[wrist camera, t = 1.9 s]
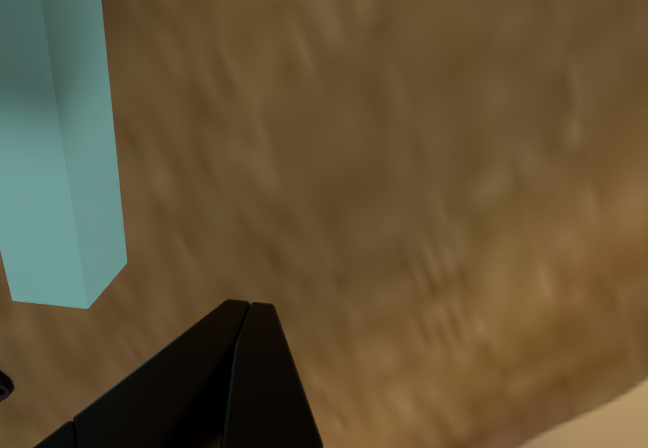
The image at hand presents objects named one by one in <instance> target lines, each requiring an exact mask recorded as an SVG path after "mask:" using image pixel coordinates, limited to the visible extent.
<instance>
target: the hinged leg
mask: <svg viewBox="0 0 648 448" xmlns="http://www.w3.org/2000/svg"><path fill="white" fill-rule="evenodd" d="M0 251H1V255H2V259H3V263H4V268H5V272H6V276H7V280H8V284H9V288H10V292H11V297H12V301H21V302H30V303H39V304H48V305H57V306H66V307H75V308H84V309H88V308H89V307H90V306H91V305H92V304H93V302H94V301H95V300H96V299H97V298H98V296H99V295H100V294H101V293H102V292H103V291H104V289H105V288H106V287H107V286H108V285H109V284H110V282H111V281H112V280H113V279H114V278H115V276H116V275H117V274H118V273H119V272H120V271H121V269H122V268H123V267H124V266H125V265H126V264H127V256H126V246H125V236H124V225H123V215H122V205H121V195H120V185H119V175H118V165H117V154H116V144H115V134H114V124H113V114H112V104H111V94H110V84H109V73H108V63H107V53H106V43H105V33H104V23H103V13H102V2H101V0H0Z"/></svg>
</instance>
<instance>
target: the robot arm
mask: <svg viewBox="0 0 648 448" xmlns="http://www.w3.org/2000/svg"><path fill="white" fill-rule="evenodd" d="M13 391H14V385H13V384H12V383H11V382H10V381H9V380H7V379H6V378H5V377H4V376H2V375H1V374H0V401H2V400H4V399H6V398H7V397H8V396H9V395H10V394H11V393H12V392H13ZM33 448H323V443H322V440H321V437H320V434H319V431H318V428H317V425H316V423H315V420H314V417H313V414H312V411H311V408H310V406H309V403H308V400H307V397H306V394H305V391H304V388H303V386H302V383H301V380H300V377H299V374H298V371H297V369H296V366H295V363H294V360H293V357H292V354H291V351H290V349H289V346H288V343H287V340H286V337H285V334H284V332H283V329H282V326H281V323H280V320H279V317H278V314H277V312H276V309H275V306H274V305H273V304H269V303H260V302H253V303H251V305H250V303H249V302H248V301H242V300H234V299H228V300H226V301H224V302H223V303H222V304H220V305H219V306H218V307H217V308H215V309H214V310H213V311H211V312H210V313H209V314H207V315H206V316H205V317H203V318H202V319H201V320H200V321H198V322H197V323H196V324H194V325H193V326H192V327H190V328H189V329H188V330H187V331H185V332H184V333H183V334H181V335H180V336H179V337H177V338H176V339H175V340H174V341H172V342H171V343H170V344H168V345H167V346H166V347H164V348H163V349H162V350H160V351H159V352H158V353H157V354H155V355H154V356H153V357H151V358H150V359H149V360H147V361H146V362H145V363H144V364H142V365H141V366H140V367H138V368H137V369H136V370H134V371H133V372H132V373H131V374H129V375H128V376H127V377H125V378H124V379H123V380H121V381H120V382H119V383H117V384H116V385H115V386H114V387H112V388H111V389H110V390H108V391H107V392H106V393H104V394H103V395H102V396H101V397H99V398H98V399H97V400H95V401H94V402H93V403H91V404H90V405H89V406H88V407H86V408H85V409H84V410H82V411H81V412H80V413H78V414H77V415H76V416H75V417H74V418H73V422H72V421H68V422H66V423H65V424H64V425H62V426H61V427H60V428H59V429H57V430H56V431H55V432H53V433H52V434H51V435H49V436H48V437H47V438H45V439H44V440H43V441H41V442H40V443H39V444H37V445H36V446H35V447H33Z"/></svg>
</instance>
